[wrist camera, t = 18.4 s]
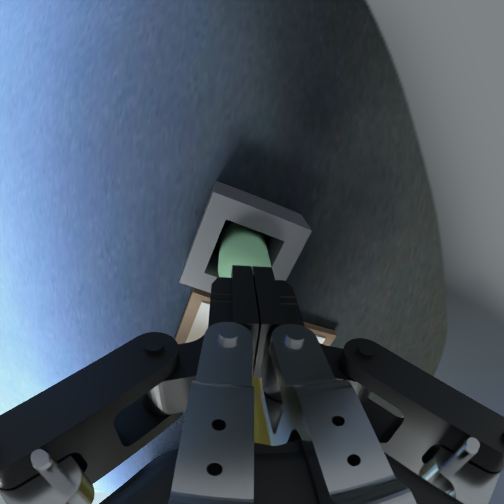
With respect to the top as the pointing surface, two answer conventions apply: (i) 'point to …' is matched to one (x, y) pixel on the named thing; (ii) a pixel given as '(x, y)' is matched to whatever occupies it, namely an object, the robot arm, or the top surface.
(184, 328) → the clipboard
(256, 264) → the button
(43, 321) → the top surface
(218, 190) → the button housing
